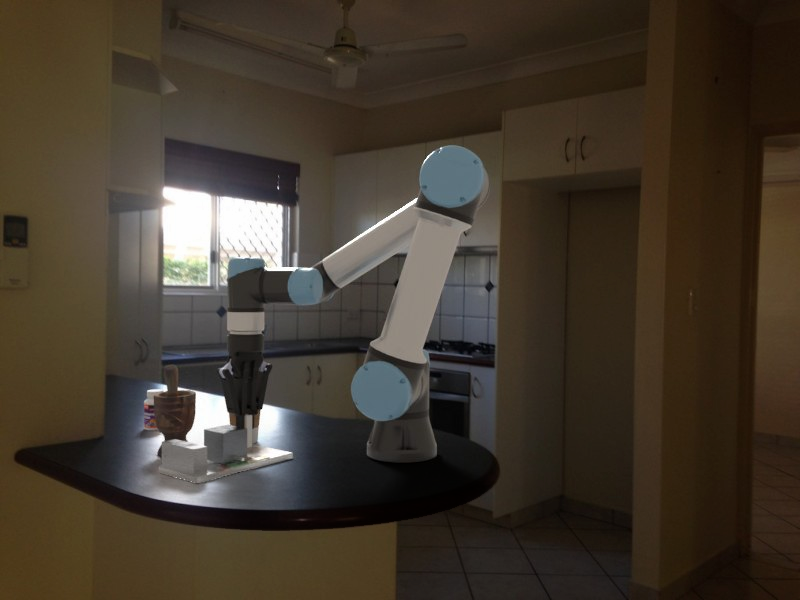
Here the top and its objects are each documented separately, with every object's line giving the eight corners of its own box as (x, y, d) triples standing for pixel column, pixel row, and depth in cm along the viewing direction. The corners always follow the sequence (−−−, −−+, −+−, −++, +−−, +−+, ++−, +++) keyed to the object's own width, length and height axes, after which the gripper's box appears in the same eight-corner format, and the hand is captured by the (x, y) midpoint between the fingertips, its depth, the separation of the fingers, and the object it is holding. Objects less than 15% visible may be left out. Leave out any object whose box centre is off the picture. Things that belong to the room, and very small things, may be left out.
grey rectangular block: (254, 459, 138) (254, 430, 138) (230, 465, 133) (230, 435, 133) (228, 453, 143) (228, 424, 143) (204, 459, 138) (204, 429, 138)
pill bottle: (139, 430, 172) (139, 391, 172) (152, 426, 177) (151, 388, 177) (158, 431, 171) (158, 392, 171) (170, 427, 176) (170, 389, 176)
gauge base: (292, 458, 145) (292, 429, 145) (197, 484, 126) (197, 450, 126) (254, 449, 153) (254, 421, 153) (158, 472, 134) (158, 441, 133)
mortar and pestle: (204, 458, 145) (204, 363, 144) (161, 464, 140) (161, 365, 140) (190, 447, 154) (190, 358, 154) (150, 452, 150) (149, 360, 150)
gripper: (257, 330, 150) (257, 438, 151) (208, 333, 140) (207, 448, 140) (281, 331, 145) (280, 443, 146) (232, 335, 135) (231, 454, 136)
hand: (244, 445), depth 143 cm, fingers closed
